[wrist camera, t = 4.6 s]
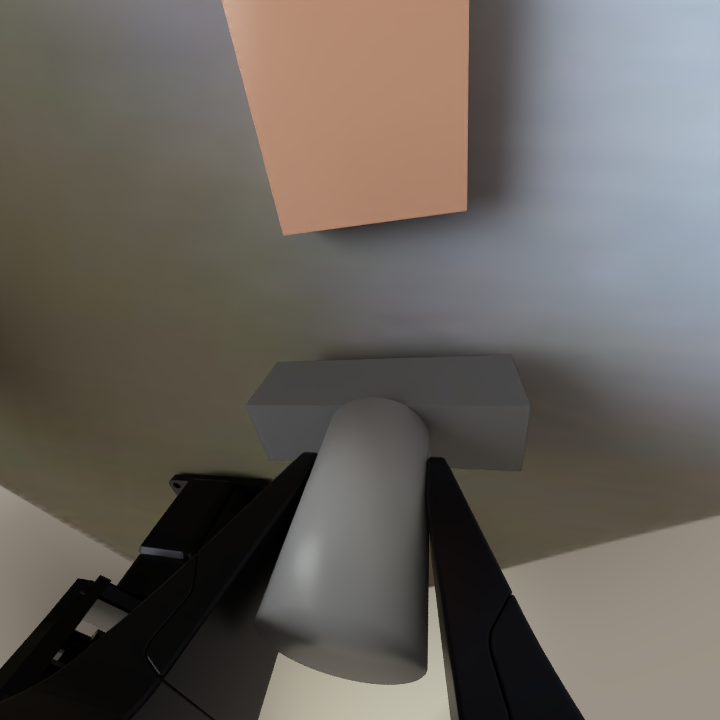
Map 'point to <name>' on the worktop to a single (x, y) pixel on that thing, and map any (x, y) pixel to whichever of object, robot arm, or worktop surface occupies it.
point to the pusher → (374, 498)
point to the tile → (357, 106)
